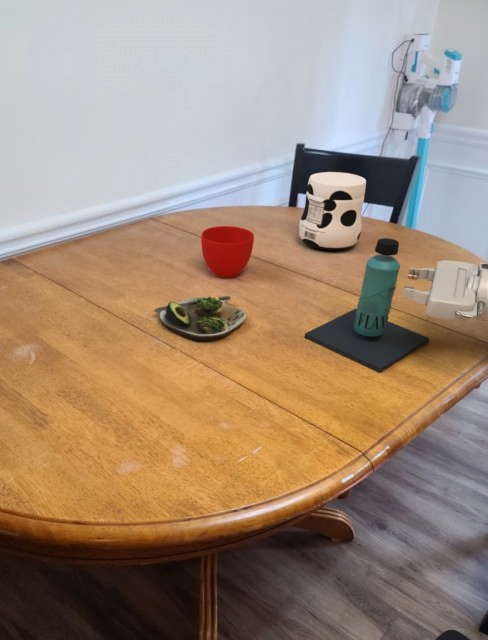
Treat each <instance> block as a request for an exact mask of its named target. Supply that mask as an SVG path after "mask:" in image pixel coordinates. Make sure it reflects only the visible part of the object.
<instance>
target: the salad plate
mask: <svg viewBox="0 0 488 640" xmlns="http://www.w3.org/2000/svg"><path fill="white" fill-rule="evenodd" d="M230 300H231V296H230V295H224V296H217V295H216V296H215V297H211V296H208V297H205V296H194V297H192V296H191V297H188V298H186V299H183V300H181V301H180V302H177V301H170V302H168V304H167V305H164V306H160V307H157V308H154V310H153V312H155V313H157V315H158V318H159V321H160V323H161V324H162V326H163V327H164V328H165V329H166V328H167V329H168V330H167V329H166V330H167V331H169V330H170V331H169V332H171V331H172V332H171V333H173V334H175V333H176V334H175V335H177V334H178V335H177V336H179V335H180V336H179V337H181V336H182V337H181V338H183V337H184V339H186V338H187V339H186V340H190V341H195V342H205V343H206V342H213V341H216V340H219V339H221V338H223V337H225V336H228V335H229V334H230V333H231V332H232V331H234V330H235V329H237V328H238V327H240V325H242V323H244V322H245V321H246V319H247V314H246V313H245V311H244V310H243V309H242V308H239V307H236V306H232V305H229V304H226V303H227V302H228V301H230Z"/></svg>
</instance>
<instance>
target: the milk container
mask: <svg viewBox="0 0 488 640" xmlns="http://www.w3.org/2000/svg"><path fill="white" fill-rule="evenodd" d="M366 186H367V179H366V178H364V177H362V176H361V175H358V174H354V173H349V172H341V171H338V172H337V171H324V172H316V173H313V174H311V175H310V176H309V178H308V183H307V186H306V187H307V188H306V193H305V201H304V202H305V203H304V208H303V212H302V215H301V217H300V221H299V222H298V223H299V224H298V236H299V238H300V240H301V241H302V242H303V243H304V244H306V245H308V246H309V247H313V248H315V249H321V250H326V251H327V250H329V251H330V250H331V251H339V250H345V249H350V248H352V247H354V246H355V245H356V244H357V242H358V241H359V240H360V237H361V234H362V230H363V222H362V211H363V206H364V200H365V193H366Z"/></svg>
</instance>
